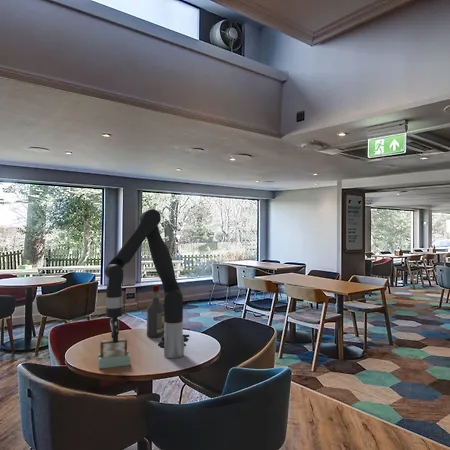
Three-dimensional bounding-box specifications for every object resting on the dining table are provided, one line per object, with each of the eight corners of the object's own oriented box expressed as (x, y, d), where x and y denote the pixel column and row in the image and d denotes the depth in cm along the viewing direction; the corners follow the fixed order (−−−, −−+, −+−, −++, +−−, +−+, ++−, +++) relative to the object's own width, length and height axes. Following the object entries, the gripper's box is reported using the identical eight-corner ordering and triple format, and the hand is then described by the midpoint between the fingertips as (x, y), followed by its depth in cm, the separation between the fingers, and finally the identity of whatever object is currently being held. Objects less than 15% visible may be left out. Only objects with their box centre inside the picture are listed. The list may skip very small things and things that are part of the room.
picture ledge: (127, 358, 188) (128, 349, 188) (130, 364, 179) (130, 356, 179) (98, 361, 183) (98, 353, 183) (99, 368, 174) (99, 359, 174)
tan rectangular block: (126, 356, 185) (126, 337, 185) (127, 358, 181) (127, 339, 181) (100, 359, 180) (100, 340, 180) (100, 361, 177) (100, 342, 177)
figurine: (166, 335, 230) (151, 350, 200) (166, 333, 230) (151, 348, 200) (192, 335, 228) (181, 352, 199) (192, 334, 228) (181, 350, 199)
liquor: (145, 337, 224) (145, 286, 225) (151, 333, 233) (151, 284, 234) (159, 338, 222) (160, 286, 223) (165, 333, 231) (165, 284, 232)
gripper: (124, 308, 176) (124, 343, 175) (120, 302, 189) (121, 335, 189) (107, 309, 173) (107, 345, 173) (105, 304, 186) (105, 337, 186)
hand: (114, 340), depth 181 cm, fingers open, 8 cm apart
